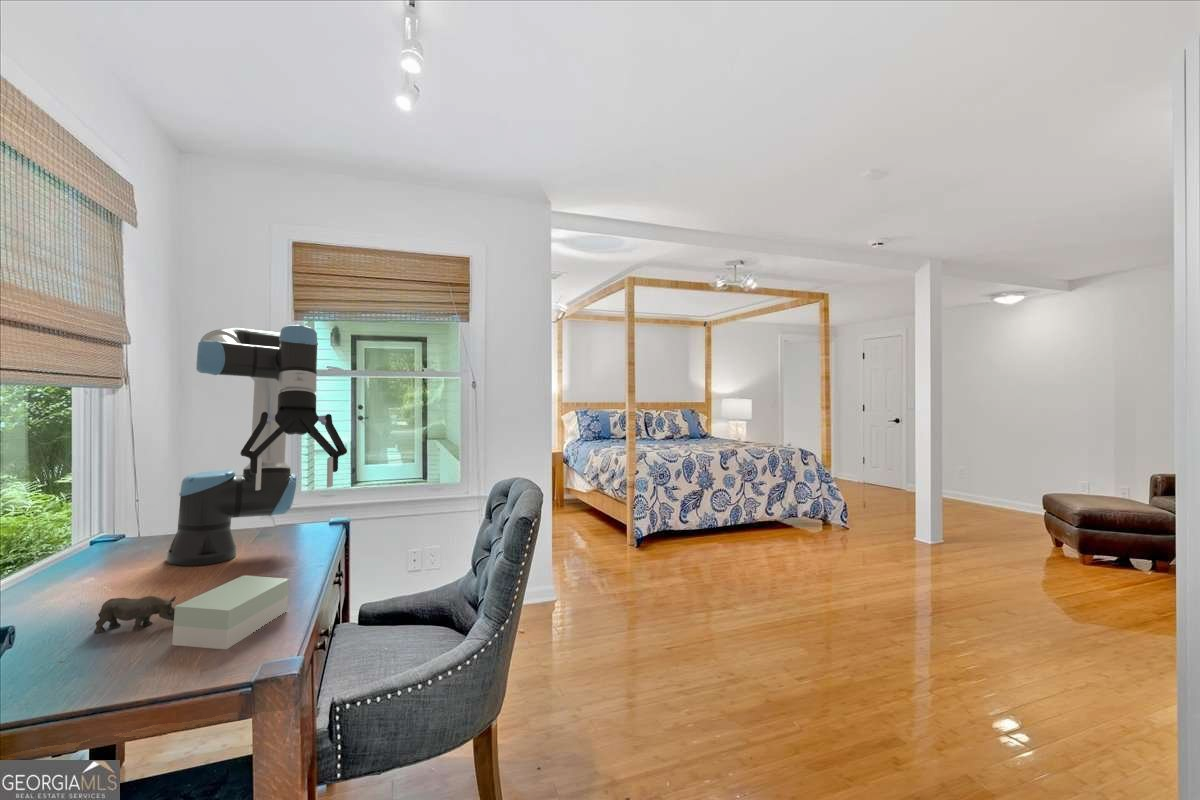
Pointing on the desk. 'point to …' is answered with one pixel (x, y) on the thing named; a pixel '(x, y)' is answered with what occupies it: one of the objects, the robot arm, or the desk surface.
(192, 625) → the block
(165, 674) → the desk surface
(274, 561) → the desk surface
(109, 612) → the rhino figurine
